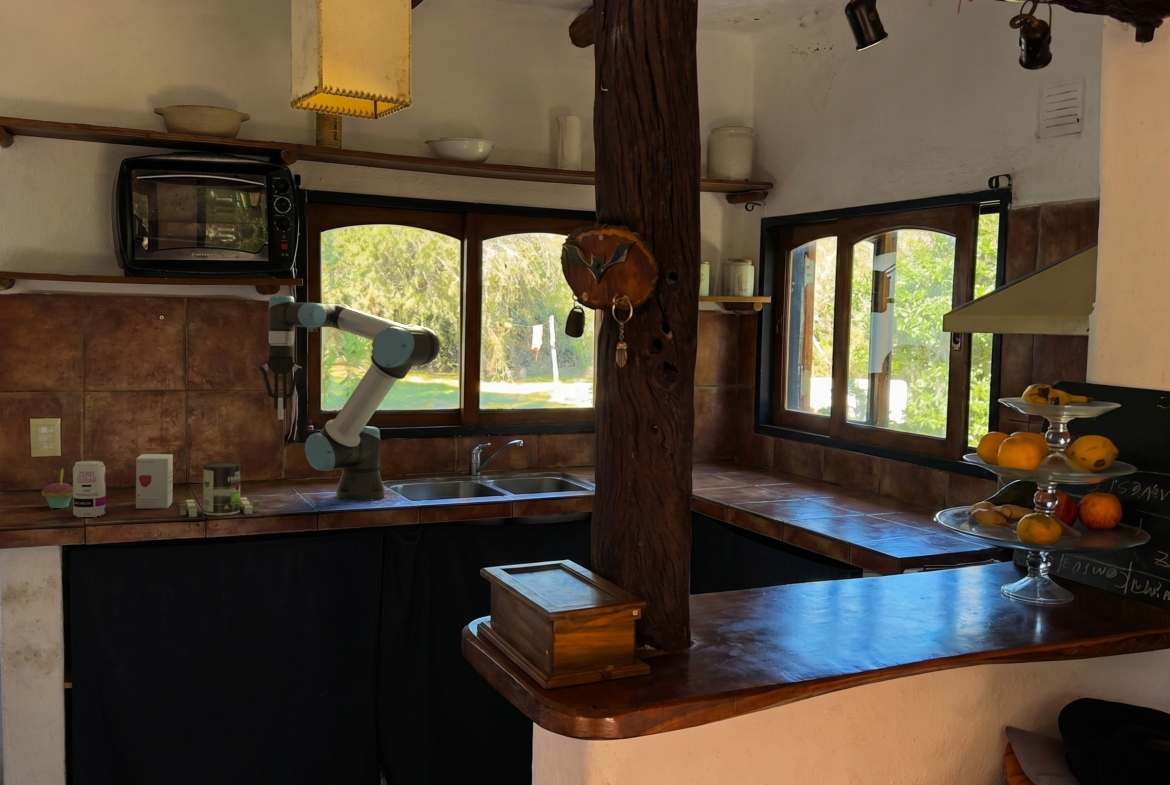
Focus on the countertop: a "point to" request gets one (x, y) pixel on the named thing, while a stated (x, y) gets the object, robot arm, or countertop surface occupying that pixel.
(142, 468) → the supplement box
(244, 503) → the slot track
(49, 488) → the cupcake
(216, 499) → the coffee can
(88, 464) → the supplement can
